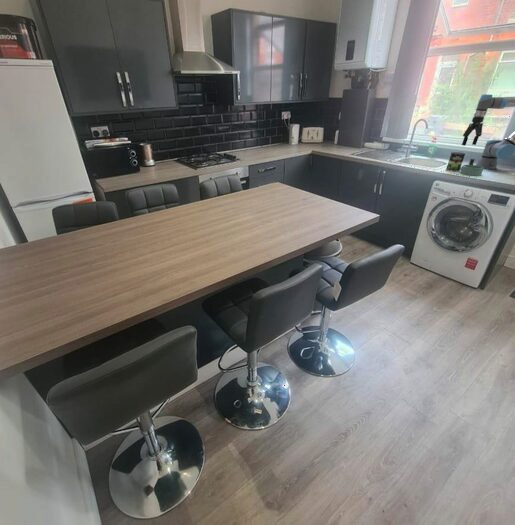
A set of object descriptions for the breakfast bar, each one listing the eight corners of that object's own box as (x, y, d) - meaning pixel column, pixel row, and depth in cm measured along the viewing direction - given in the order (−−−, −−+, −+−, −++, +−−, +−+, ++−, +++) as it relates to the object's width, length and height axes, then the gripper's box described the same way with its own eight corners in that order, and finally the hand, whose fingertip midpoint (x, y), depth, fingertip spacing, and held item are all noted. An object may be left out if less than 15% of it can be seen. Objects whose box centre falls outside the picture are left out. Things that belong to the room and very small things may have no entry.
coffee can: (460, 172, 247) (465, 154, 240) (446, 170, 251) (451, 153, 244) (459, 169, 255) (464, 152, 247) (445, 168, 259) (450, 151, 252)
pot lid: (463, 167, 263) (467, 156, 259) (482, 170, 252) (487, 159, 247) (455, 169, 256) (458, 158, 251) (474, 172, 245) (478, 161, 240)
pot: (465, 171, 250) (468, 163, 247) (484, 174, 239) (487, 166, 236) (456, 173, 243) (459, 165, 240) (475, 176, 232) (478, 169, 229)
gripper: (473, 117, 225) (463, 146, 236) (493, 116, 234) (482, 145, 245) (464, 116, 231) (454, 144, 242) (483, 116, 240) (473, 143, 251)
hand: (468, 145), depth 243 cm, fingers open, 13 cm apart
